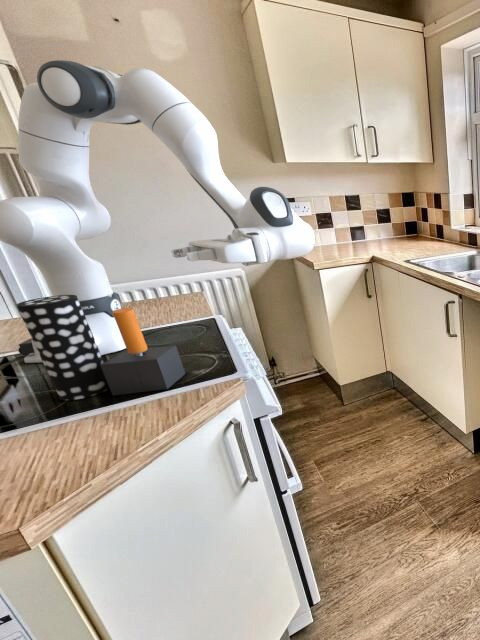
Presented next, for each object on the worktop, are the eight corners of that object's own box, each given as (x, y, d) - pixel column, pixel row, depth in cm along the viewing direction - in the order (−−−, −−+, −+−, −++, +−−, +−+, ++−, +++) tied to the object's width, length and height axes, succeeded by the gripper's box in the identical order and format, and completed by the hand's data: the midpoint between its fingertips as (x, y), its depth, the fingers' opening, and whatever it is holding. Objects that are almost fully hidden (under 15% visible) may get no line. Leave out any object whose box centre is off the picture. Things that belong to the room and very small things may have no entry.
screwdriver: (138, 388, 90) (108, 313, 83) (146, 381, 93) (118, 308, 86) (155, 386, 91) (127, 312, 84) (163, 379, 94) (136, 307, 87)
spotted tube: (52, 404, 84) (6, 308, 77) (69, 387, 91) (28, 298, 84) (105, 394, 88) (66, 301, 81) (118, 379, 95) (83, 292, 88)
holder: (112, 395, 87) (99, 364, 85) (135, 379, 94) (124, 350, 92) (167, 389, 89) (156, 359, 87) (185, 373, 97) (176, 345, 94)
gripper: (227, 231, 106) (160, 238, 96) (263, 235, 95) (191, 243, 84) (233, 256, 109) (169, 265, 99) (270, 263, 97) (201, 274, 87)
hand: (179, 255), depth 91 cm, fingers open, 8 cm apart
